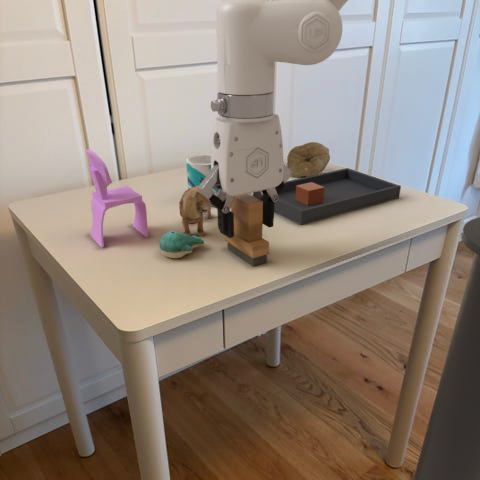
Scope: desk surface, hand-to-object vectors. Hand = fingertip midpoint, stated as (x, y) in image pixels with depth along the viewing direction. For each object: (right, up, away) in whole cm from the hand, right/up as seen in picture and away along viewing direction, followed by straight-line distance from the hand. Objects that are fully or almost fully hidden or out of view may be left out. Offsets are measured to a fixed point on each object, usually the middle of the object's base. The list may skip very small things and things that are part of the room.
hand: (246, 228), depth 77 cm
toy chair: (-22, 0, +10) cm, 24 cm away
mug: (-6, +11, +26) cm, 29 cm away
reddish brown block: (+13, +10, +22) cm, 27 cm away
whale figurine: (-10, -3, +4) cm, 12 cm away
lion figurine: (-8, +2, +12) cm, 15 cm away
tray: (+17, +10, +24) cm, 31 cm away
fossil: (+15, +20, +39) cm, 46 cm away
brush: (0, -4, +3) cm, 5 cm away
